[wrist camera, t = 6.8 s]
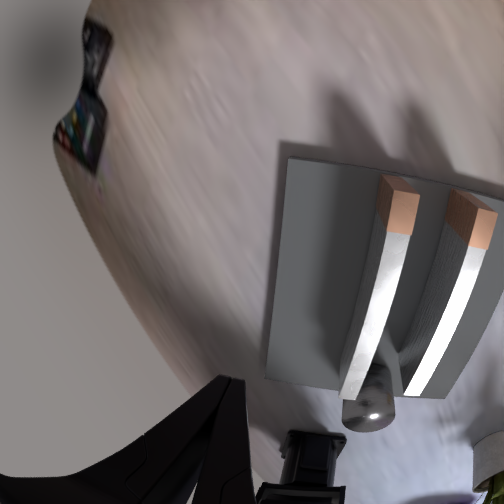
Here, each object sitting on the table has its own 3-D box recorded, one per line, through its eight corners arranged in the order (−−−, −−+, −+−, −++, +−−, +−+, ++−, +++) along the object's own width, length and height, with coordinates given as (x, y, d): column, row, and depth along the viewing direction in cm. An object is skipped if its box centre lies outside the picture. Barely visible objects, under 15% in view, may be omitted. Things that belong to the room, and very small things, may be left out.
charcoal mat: (442, 391, 23) (444, 398, 22) (266, 370, 26) (264, 378, 26) (523, 205, 15) (530, 210, 14) (290, 156, 19) (288, 158, 18)
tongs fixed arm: (412, 357, 21) (419, 396, 17) (397, 355, 21) (403, 395, 18) (468, 192, 15) (498, 213, 12) (451, 188, 16) (478, 208, 12)
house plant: (421, 446, 27) (423, 569, 13) (525, 390, 21) (560, 513, 7) (451, 476, 29) (455, 567, 15) (533, 433, 23) (553, 525, 9)
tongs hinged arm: (382, 396, 23) (384, 434, 20) (329, 391, 24) (325, 429, 21) (454, 188, 16) (482, 208, 12) (380, 173, 17) (394, 189, 13)
